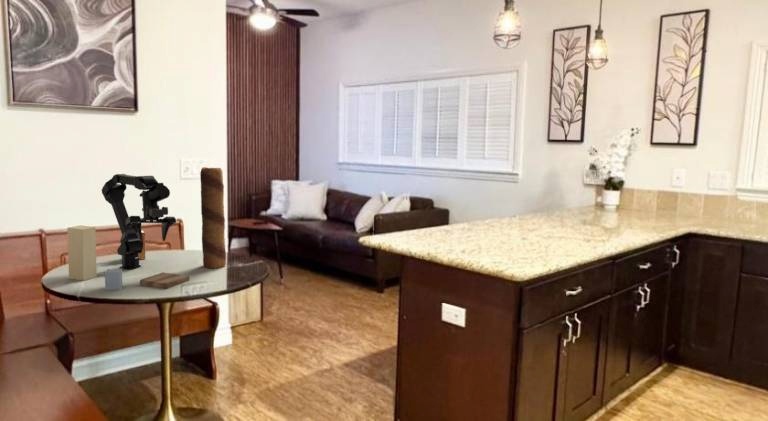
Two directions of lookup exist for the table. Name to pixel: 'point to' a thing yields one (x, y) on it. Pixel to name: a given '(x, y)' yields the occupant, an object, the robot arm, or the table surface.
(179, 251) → the table surface
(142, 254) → the small box
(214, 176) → the wafer roll
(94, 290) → the table surface
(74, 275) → the tall beige block
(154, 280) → the walnut block
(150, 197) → the robot arm
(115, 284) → the blue-grey block
